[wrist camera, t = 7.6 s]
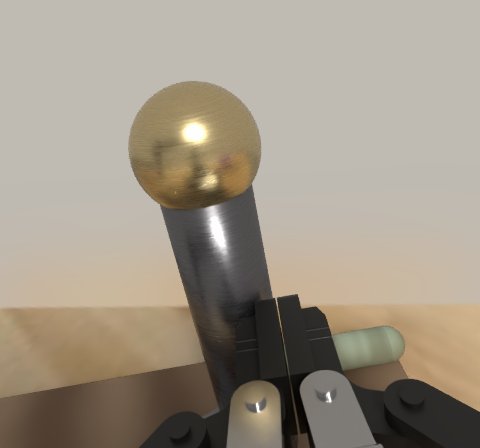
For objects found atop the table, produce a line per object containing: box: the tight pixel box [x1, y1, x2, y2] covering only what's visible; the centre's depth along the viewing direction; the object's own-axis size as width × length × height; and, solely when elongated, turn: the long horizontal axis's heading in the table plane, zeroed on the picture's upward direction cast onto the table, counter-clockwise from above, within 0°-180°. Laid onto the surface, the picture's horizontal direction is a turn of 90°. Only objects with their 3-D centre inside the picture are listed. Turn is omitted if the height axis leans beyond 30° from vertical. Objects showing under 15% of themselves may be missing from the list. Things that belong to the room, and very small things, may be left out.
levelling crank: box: [128, 81, 298, 448], centre depth 13 cm, size 18×7×15 cm, turn 119°
